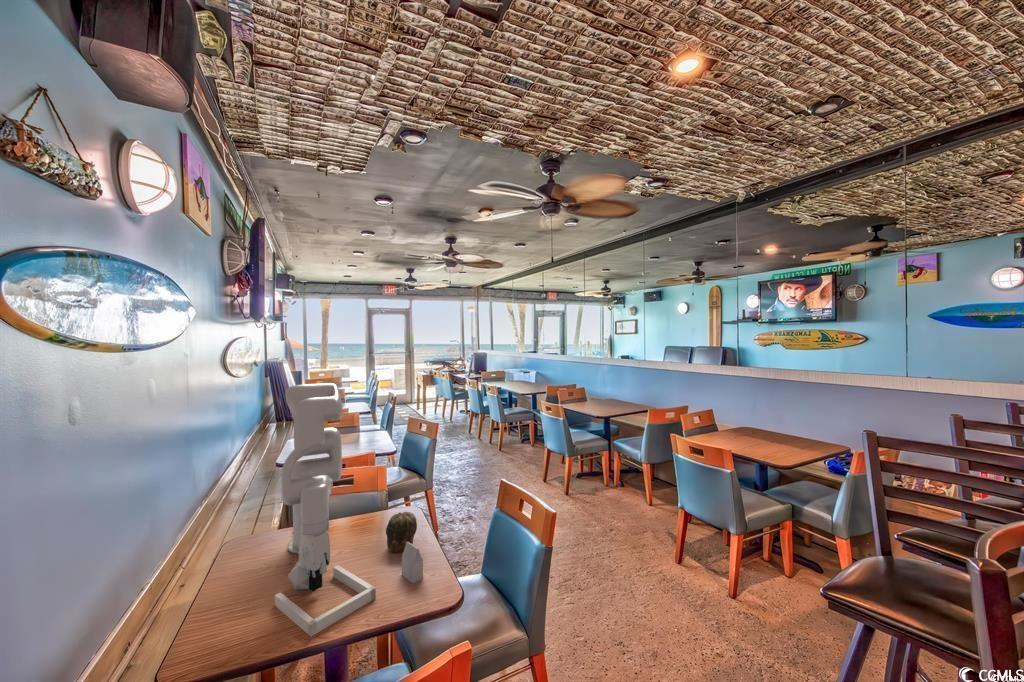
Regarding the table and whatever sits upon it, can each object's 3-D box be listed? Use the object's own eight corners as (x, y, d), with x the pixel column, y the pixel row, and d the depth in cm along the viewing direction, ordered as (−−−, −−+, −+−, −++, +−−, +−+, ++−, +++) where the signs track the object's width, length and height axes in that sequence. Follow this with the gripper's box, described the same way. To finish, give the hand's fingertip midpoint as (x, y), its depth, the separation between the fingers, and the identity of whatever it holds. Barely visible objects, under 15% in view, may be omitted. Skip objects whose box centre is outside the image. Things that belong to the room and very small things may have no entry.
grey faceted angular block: (412, 583, 125) (412, 551, 125) (401, 574, 130) (401, 543, 130) (423, 578, 127) (422, 547, 127) (411, 569, 132) (411, 539, 132)
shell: (422, 547, 147) (422, 514, 147) (393, 557, 140) (393, 523, 140) (409, 536, 155) (408, 505, 155) (381, 545, 148) (381, 513, 148)
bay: (274, 605, 115) (274, 595, 115) (337, 574, 130) (337, 565, 130) (311, 636, 102) (310, 624, 102) (375, 598, 118) (375, 587, 118)
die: (297, 600, 117) (318, 567, 120) (276, 583, 119) (297, 551, 122) (313, 595, 124) (332, 564, 127) (293, 580, 127) (312, 550, 130)
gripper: (289, 524, 121) (290, 586, 120) (315, 537, 112) (316, 604, 111) (314, 515, 127) (315, 574, 126) (340, 527, 118) (341, 590, 118)
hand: (315, 588), depth 119 cm, fingers closed
